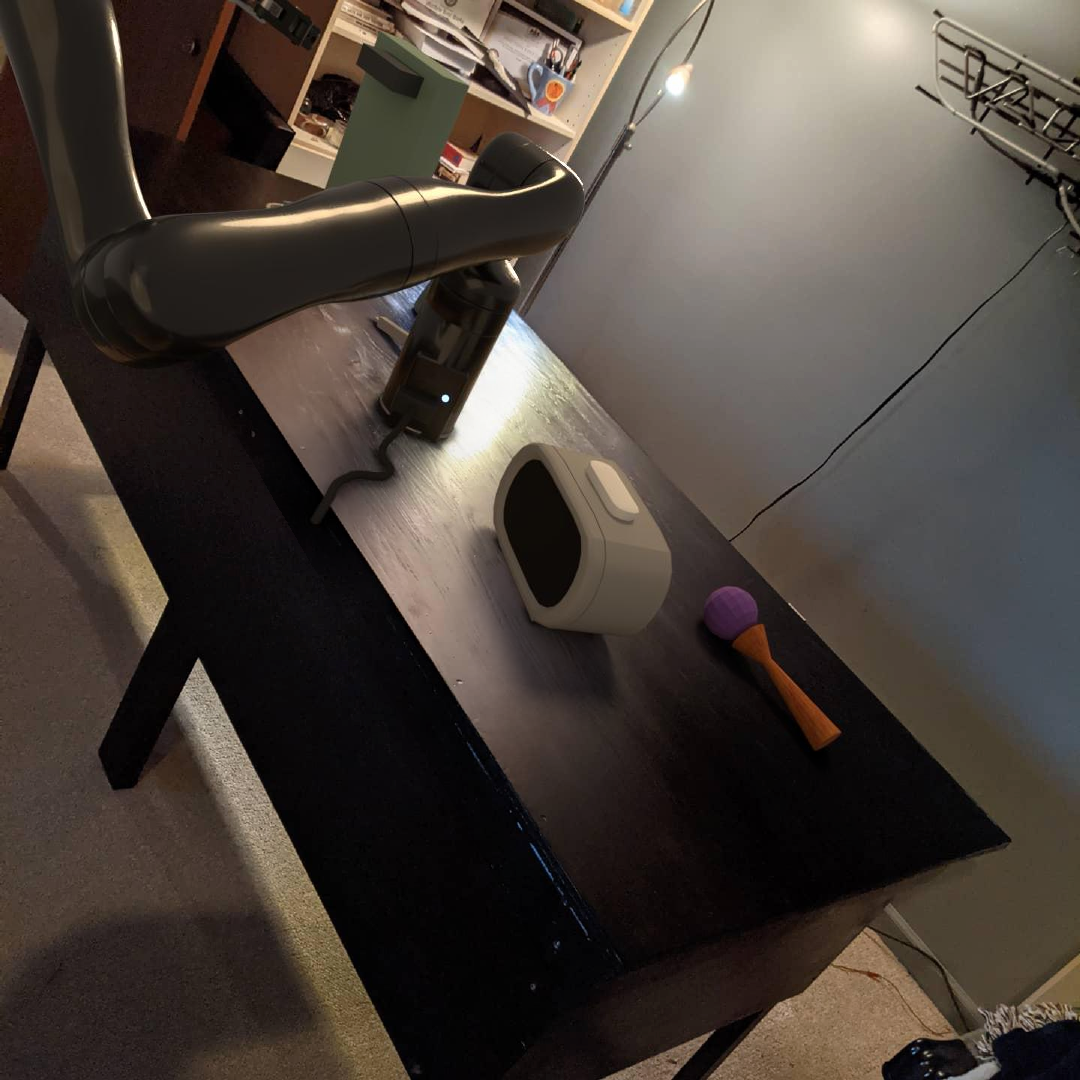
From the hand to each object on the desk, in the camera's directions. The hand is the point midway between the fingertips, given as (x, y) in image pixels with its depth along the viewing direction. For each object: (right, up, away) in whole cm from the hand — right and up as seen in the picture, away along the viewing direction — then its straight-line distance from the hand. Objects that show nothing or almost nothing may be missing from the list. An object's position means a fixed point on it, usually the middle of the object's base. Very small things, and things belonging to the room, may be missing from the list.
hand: (282, 13), depth 81 cm
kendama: (+48, -66, +12) cm, 82 cm away
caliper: (+8, -27, +32) cm, 42 cm away
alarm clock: (+25, -55, +7) cm, 61 cm away
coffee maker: (-8, -3, +52) cm, 53 cm away
